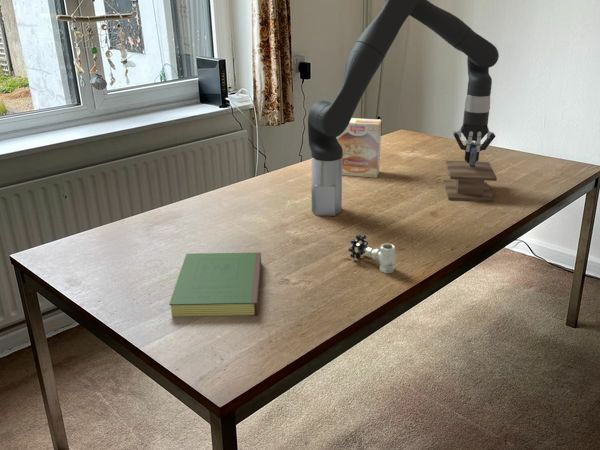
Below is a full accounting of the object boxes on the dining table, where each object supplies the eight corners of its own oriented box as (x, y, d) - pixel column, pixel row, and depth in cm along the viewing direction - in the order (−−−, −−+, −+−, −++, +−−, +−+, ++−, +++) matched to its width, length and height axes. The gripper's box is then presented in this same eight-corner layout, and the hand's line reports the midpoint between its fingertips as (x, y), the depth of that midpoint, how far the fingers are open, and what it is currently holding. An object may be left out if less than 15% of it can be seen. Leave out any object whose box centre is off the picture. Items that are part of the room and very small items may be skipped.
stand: (493, 201, 189) (496, 177, 186) (448, 199, 191) (450, 176, 188) (486, 184, 204) (488, 162, 201) (444, 182, 206) (446, 160, 202)
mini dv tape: (466, 159, 197) (468, 141, 195) (471, 159, 197) (473, 142, 195) (470, 167, 190) (472, 149, 188) (474, 167, 190) (477, 149, 187)
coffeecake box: (335, 175, 214) (336, 121, 206) (338, 169, 221) (339, 116, 213) (377, 178, 211) (379, 123, 203) (379, 171, 217) (382, 118, 209)
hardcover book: (257, 317, 130) (256, 302, 129) (170, 319, 130) (169, 304, 128) (261, 264, 153) (261, 251, 152) (188, 265, 153) (186, 252, 151)
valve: (401, 268, 149) (364, 253, 157) (403, 244, 147) (365, 230, 155) (384, 277, 145) (348, 261, 153) (386, 253, 142) (348, 238, 150)
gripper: (497, 106, 189) (490, 159, 196) (453, 105, 191) (448, 158, 198) (501, 112, 182) (494, 166, 189) (455, 111, 184) (450, 165, 191)
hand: (470, 161), depth 193 cm, fingers closed on mini dv tape, 1 cm apart
